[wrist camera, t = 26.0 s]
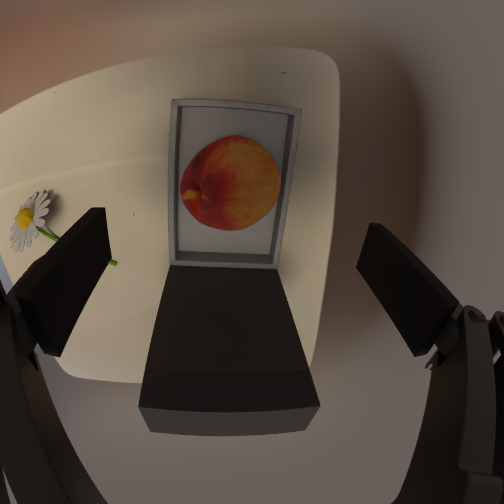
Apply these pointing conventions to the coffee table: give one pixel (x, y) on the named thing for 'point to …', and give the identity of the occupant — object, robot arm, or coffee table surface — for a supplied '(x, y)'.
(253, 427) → the tray with tall back
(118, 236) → the coffee table surface
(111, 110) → the coffee table surface
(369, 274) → the robot arm
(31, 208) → the decorative flower
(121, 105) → the coffee table surface
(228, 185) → the fruit
